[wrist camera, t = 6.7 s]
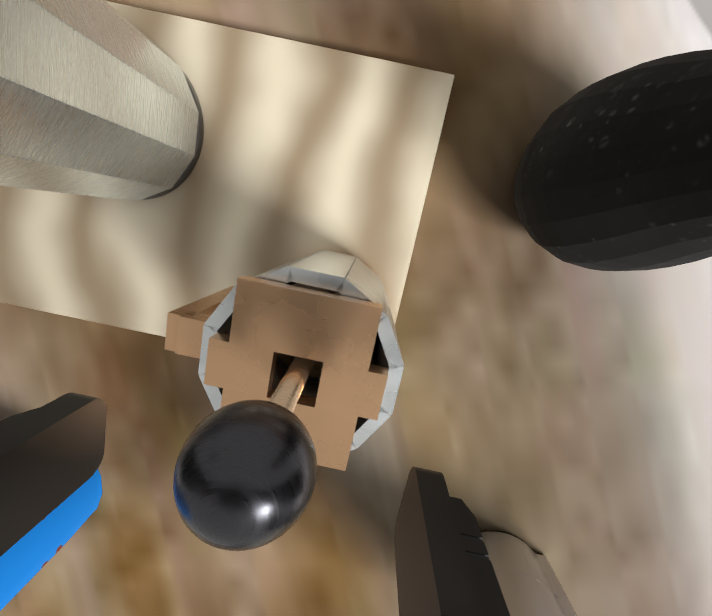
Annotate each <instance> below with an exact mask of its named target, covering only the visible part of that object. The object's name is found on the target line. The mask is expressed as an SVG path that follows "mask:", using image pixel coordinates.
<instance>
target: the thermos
mask: <svg viewBox="0 0 712 616" xmlns="http://www.w3.org/2000/svg"><path fill="white" fill-rule="evenodd" d="M101 495H102V484H101V475H100V473H99V471H98V469H97V470H96V472H95V473H94V474H93V476H92V477H91V478H90V479H89V480H87V481H86V482H85V483H84V484H83V485H82V486H81V487H80V488H78V489H77V490H76V491H75V492H74V493H73V494H72V495H70V496H69V497H68V498H67V499H66V500H65V501H64V502H62V503H61V504H60V505H59V506H58V507H57V508H56V509H54V510H53V511H52V512H51V513H50V514H49V515H48V516H46V517H45V518H44V519H43V520H42V521H41V522H40V523H38V524H37V525H36V526H35V527H34V528H33V529H32V530H30V531H29V532H28V533H27V534H26V535H25V536H24V537H22V538H21V539H20V540H19V541H18V542H17V543H16V544H14V545H13V546H12V547H11V548H10V549H9V550H8V551H6V552H5V553H4V554H3V555H2V556H1V557H0V611H1V610H2V609H3V608H4V606H5V605H6V604H7V603H8V602H9V601H10V600H11V599H12V598H13V597H14V596H15V595H16V594H17V593H18V592H19V591H20V590H21V589H22V588H23V587H24V586H25V585H26V584H27V583H28V582H29V581H30V580H31V579H32V578H33V577H34V576H35V575H36V574H37V573H38V571H39V570H40V569H41V568H42V567H43V566H44V565H45V564H46V563H47V562H48V561H49V560H50V559H51V558H52V557H53V556H54V555H55V554H56V553H57V552H58V551H59V550H60V549H61V548H62V547H63V546H64V545H65V544H66V542H67V541H68V540H69V539H70V538H71V537H72V536H73V535H74V533H75V532H76V531H77V530H78V529H79V528H80V527H81V525H82V524H83V523H84V522H85V521H86V520H87V519H88V518H89V516H90V515H91V514H92V513H93V512H94V511H95V510H96V509H97V507H98V504H99V501H100V498H101Z"/></svg>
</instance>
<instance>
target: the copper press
mask: <svg viewBox="0 0 712 616" xmlns="http://www.w3.org/2000/svg"><path fill="white" fill-rule="evenodd" d="M295 283H300V284H305V285H310V286H315V287H319V288H324V289H329V290H334V291H338V292H340V293H341V294H342V295H343V296H341V295H336V294H331V293H326V292H322V291H317V290H312V289H307V288H303V287H298V286H293V284H295ZM165 349H166V350H170V351H175V354H180V355H185V356H190V357H194V358H199V359H200V362H199V371H198V374H199V377H200V380H201V382H202V384H203V386H204V389H205V391H206V393H207V395H208V397H209V400H210V402H211V404H212V406H213V409H214V411H216V410H218V409H220V408H222V407H223V406H226V405H229V404H232V403H234V402H238V401H243V400H264V401H269V400H270V398H271V397H272V395H273V393H274V392H275V390H276V388H277V387H278V385H279V383H280V382H281V380H282V378H283V377H284V375H285V373H286V372H287V370H288V368H289V366H288V365H287V364H286V363H285V362H284V361H283V360H282V359H281V358H280V357H279V355H278V353H282V354H287V355H292V356H297V357H301V358H306V359H311V360H316V361H320V362H323V368H322V373H321V378H318V377H311V376H308V378H307V381H306V383H305V385H304V388H303V390H302V392H301V395H300V397H299V399H298V402H297V404H296V406H295V409H294V411H293V413H294V414H295V415H296V416H297V417H298V418H299V419H300V420H301V422H302V423H303V424H304V425H305V427H306V428H307V430H308V432H309V434H310V436H311V438H312V441H313V444H314V447H315V451H316V457H317V465H319V466H324V467H329V468H333V469H338V470H343V471H346V467H347V462H348V458H349V454H350V451H352V450H355V449H356V448H358V447H359V446H360V445H361V444H363V443H364V442H365V441H366V440H367V439H368V438H369V437H370V436H371V435H372V434H373V433H374V432H375V431H376V430H377V429H378V428H379V427H380V426H381V425H382V424H383V423H384V422H385V421H386V420H387V419H388V418H389V417H390V416H391V414H392V412H393V409H394V405H395V401H396V397H397V393H398V389H399V385H400V381H401V377H402V373H403V369H404V364H403V359H402V355H401V351H400V347H399V342H398V338H397V334H396V330H395V325H394V321H393V317H392V313H391V308H390V305H389V302H388V299H387V296H386V292H385V289H384V286H383V283H382V280H381V278H380V277H379V276H378V275H377V274H376V273H375V272H374V271H373V270H372V269H371V268H370V267H369V266H368V265H367V264H366V263H364V262H363V261H362V260H360V259H359V258H358V257H357V258H356V256H352V255H350V254H346V253H343V252H336V251H328V250H323V251H320V252H317V253H313V254H310V255H308V256H305V257H302V258H299V259H296V260H293V261H291V262H288V263H286V264H283V265H281V266H279V267H276V268H274V269H271V270H269V271H266V272H264V273H262V274H259V275H257V276H254V277H250V276H246V275H244V276H242V277H239V278H237V284H236V285H235V286H231V287H228V288H226V289H223V290H221V291H219V292H216V293H214V294H211V295H209V296H206V297H204V298H202V299H199V300H197V301H194V302H192V303H190V304H187V305H185V306H182V307H180V308H177V309H175V310H173V311H170V312H168V316H167V327H166V339H165Z"/></svg>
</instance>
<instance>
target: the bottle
mask: <svg viewBox="0 0 712 616" xmlns="http://www.w3.org/2000/svg"><path fill="white" fill-rule="evenodd" d="M514 201H515V205H516V209H517V213H518V216H519V220H520V221H521V223H522V224H523V226H524V227H525V229H526V230H527V232H528V233H529V235H530V236H531V237H532V239H533V240H534V241H535V242H536V243H537V244H539V245H540V246H542V247H543V248H544V249H546V250H547V251H549V252H550V253H551V254H553V255H554V256H555V257H557V258H559V259H560V260H562V261H564V262H567V263H571V264H574V265H578V266H581V267H584V268H588V269H594V270H601V271H632V270H651V269H658V268H666V267H671V266H676V265H681V264H685V263H690V262H694V261H698V260H701V259H705V258H708V257H711V256H712V50H702V51H693V52H688V53H683V54H677V55H672V56H667V57H663V58H659V59H656V60H652V61H649V62H645V63H642V64H639V65H637V66H634V67H631V68H629V69H626V70H624V71H621V72H619V73H616V74H614V75H611V76H609V77H606V78H604V79H602V80H600V81H598V82H596V83H594V84H592V85H590V86H588V87H587V88H585V89H583V90H582V91H580V92H578V93H577V94H576V95H574V96H573V97H572V98H571V99H569V100H568V101H567V102H565V103H564V104H563V105H562V106H560V107H559V108H558V109H557V110H555V111H554V112H553V113H552V114H551V115H550V116H549V117H548V119H547V120H546V121H545V122H544V124H543V125H542V127H541V128H540V129H539V131H538V132H537V133H536V135H535V136H534V137H533V139H532V140H531V142H530V143H529V144H528V146H527V148H526V150H525V152H524V154H523V156H522V159H521V162H520V165H519V167H518V170H517V173H516V176H515V189H514Z"/></svg>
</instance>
